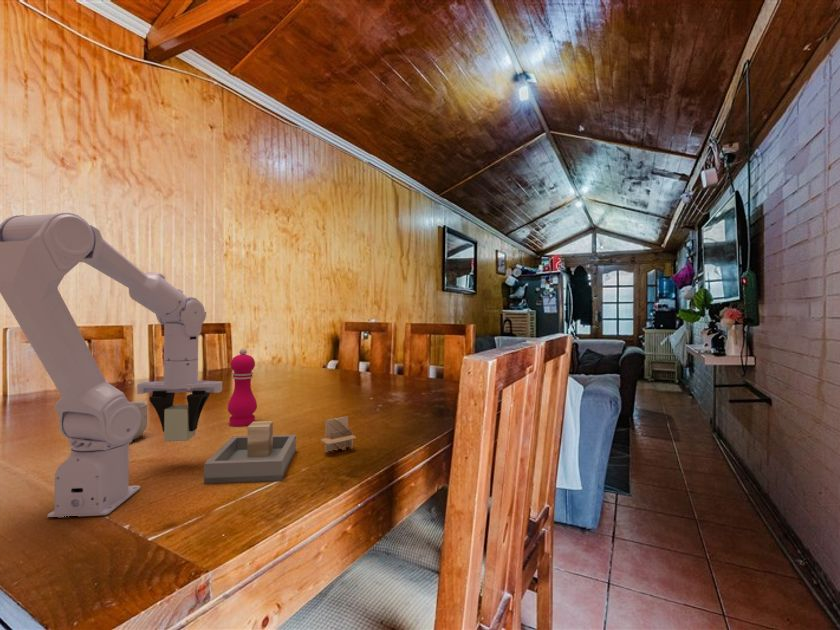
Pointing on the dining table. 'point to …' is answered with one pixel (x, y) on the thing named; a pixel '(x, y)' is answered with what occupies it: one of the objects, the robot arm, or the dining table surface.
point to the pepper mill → (242, 391)
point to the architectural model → (337, 434)
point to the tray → (249, 461)
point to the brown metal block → (260, 439)
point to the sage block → (177, 424)
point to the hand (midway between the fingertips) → (180, 430)
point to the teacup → (143, 410)
